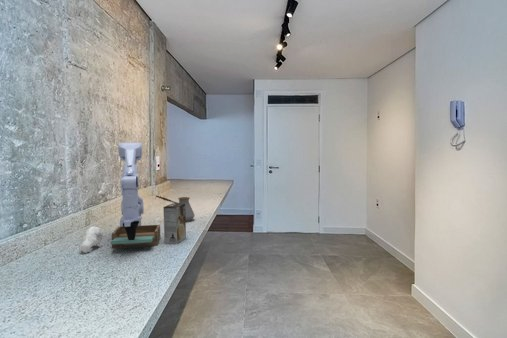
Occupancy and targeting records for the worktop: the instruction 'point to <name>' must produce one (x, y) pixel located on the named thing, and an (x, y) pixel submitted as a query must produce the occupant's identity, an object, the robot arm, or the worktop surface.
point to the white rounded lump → (91, 239)
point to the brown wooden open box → (138, 235)
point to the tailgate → (129, 242)
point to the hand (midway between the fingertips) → (131, 240)
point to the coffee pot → (188, 209)
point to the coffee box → (174, 223)
